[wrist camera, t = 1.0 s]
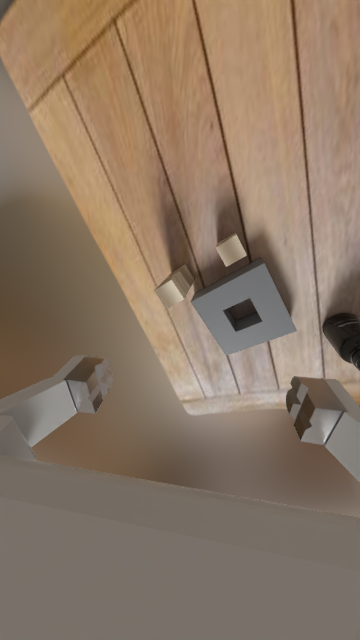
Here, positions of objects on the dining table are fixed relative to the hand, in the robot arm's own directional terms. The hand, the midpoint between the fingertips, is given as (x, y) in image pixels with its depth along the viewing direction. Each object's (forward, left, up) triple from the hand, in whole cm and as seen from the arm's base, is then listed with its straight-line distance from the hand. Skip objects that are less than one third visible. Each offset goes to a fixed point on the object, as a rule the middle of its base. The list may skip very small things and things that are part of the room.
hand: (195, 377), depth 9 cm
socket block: (+2, +14, -37) cm, 39 cm away
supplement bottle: (-13, +28, -37) cm, 48 cm away
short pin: (-1, +1, -37) cm, 37 cm away
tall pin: (+11, +1, -37) cm, 38 cm away
